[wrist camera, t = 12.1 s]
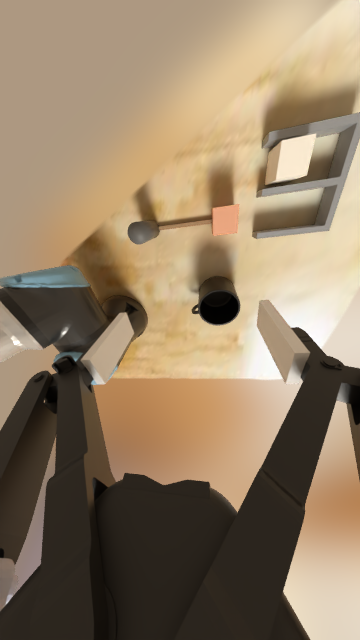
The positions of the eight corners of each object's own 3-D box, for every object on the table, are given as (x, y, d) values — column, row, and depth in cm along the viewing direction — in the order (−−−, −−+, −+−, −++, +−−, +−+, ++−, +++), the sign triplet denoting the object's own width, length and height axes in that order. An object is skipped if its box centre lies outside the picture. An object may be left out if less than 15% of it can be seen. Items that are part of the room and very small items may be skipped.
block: (264, 185, 31) (275, 180, 26) (268, 153, 29) (281, 140, 24) (290, 181, 30) (306, 175, 25) (296, 147, 28) (316, 133, 23)
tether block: (147, 240, 39) (131, 247, 31) (142, 219, 37) (124, 220, 29) (232, 230, 36) (241, 235, 27) (234, 205, 33) (243, 202, 25)
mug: (185, 289, 45) (181, 304, 37) (226, 269, 41) (231, 282, 33) (199, 315, 49) (199, 333, 41) (239, 299, 45) (246, 317, 37)
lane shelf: (252, 236, 36) (256, 238, 33) (262, 140, 28) (269, 131, 25) (318, 229, 34) (329, 230, 31) (350, 122, 26) (368, 110, 23)
